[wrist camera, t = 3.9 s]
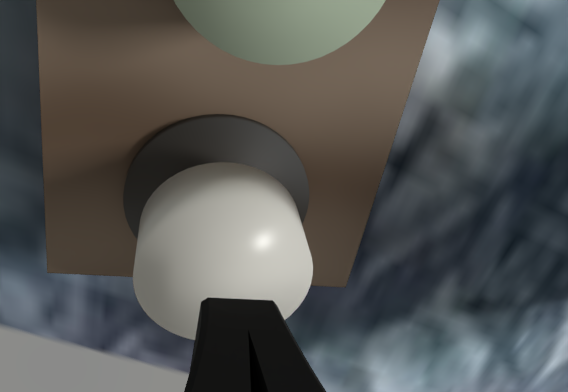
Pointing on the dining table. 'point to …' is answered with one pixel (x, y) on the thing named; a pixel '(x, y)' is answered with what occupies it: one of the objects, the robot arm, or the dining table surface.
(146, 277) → the button cream
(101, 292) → the dining table surface
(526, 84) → the dining table surface
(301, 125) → the button panel
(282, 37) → the button sage
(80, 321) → the dining table surface
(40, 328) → the dining table surface
